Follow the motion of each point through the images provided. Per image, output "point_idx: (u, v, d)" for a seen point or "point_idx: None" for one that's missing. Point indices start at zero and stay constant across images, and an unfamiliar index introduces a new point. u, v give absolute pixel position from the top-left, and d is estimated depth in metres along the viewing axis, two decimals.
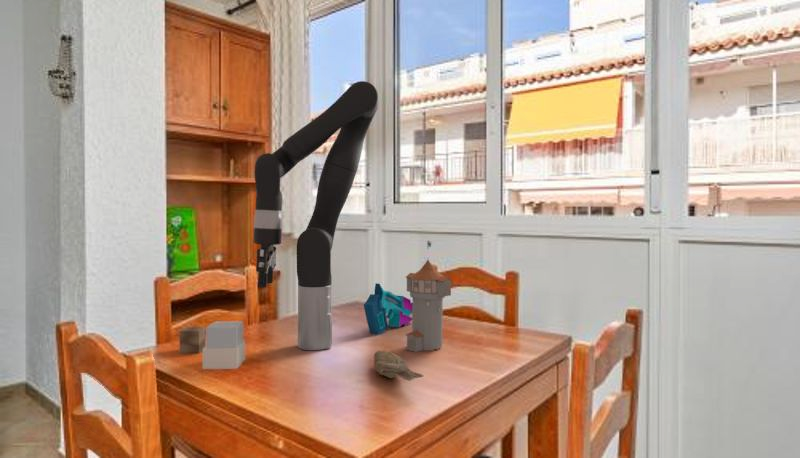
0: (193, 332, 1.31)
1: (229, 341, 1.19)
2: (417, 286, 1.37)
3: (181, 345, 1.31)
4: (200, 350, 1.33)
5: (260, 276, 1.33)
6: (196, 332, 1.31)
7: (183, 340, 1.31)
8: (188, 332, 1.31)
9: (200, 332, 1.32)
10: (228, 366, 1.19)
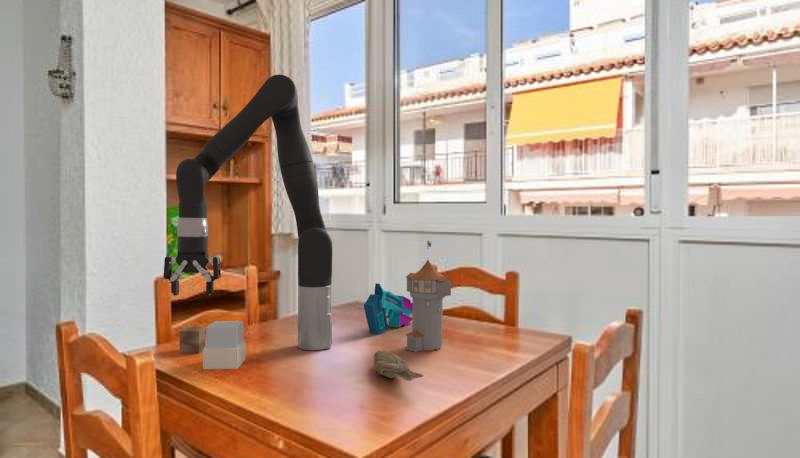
0: (193, 332, 1.31)
1: (229, 341, 1.19)
2: (417, 286, 1.37)
3: (181, 345, 1.31)
4: (200, 350, 1.33)
5: (211, 284, 1.33)
6: (196, 332, 1.31)
7: (183, 340, 1.31)
8: (188, 332, 1.31)
9: (200, 332, 1.32)
10: (228, 366, 1.19)
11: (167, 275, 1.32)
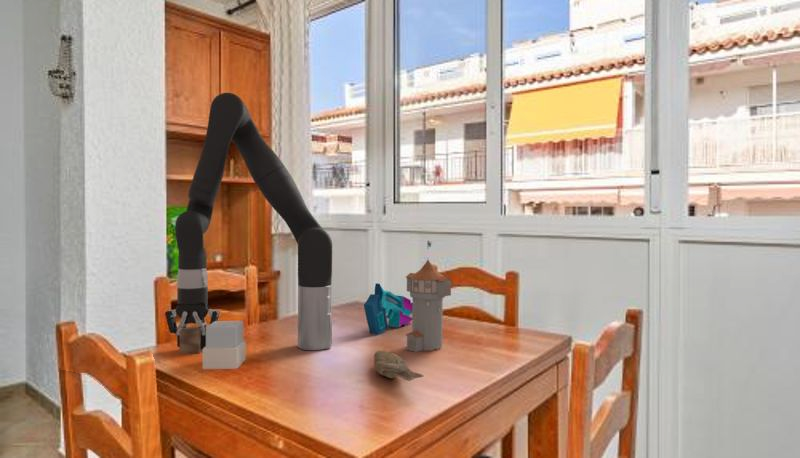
0: (193, 332, 1.31)
1: (228, 341, 1.19)
2: (417, 286, 1.37)
3: (181, 345, 1.31)
4: (200, 350, 1.33)
5: None
6: (196, 332, 1.31)
7: (183, 340, 1.31)
8: (188, 332, 1.31)
9: (200, 332, 1.32)
10: (228, 366, 1.19)
11: (173, 329, 1.32)
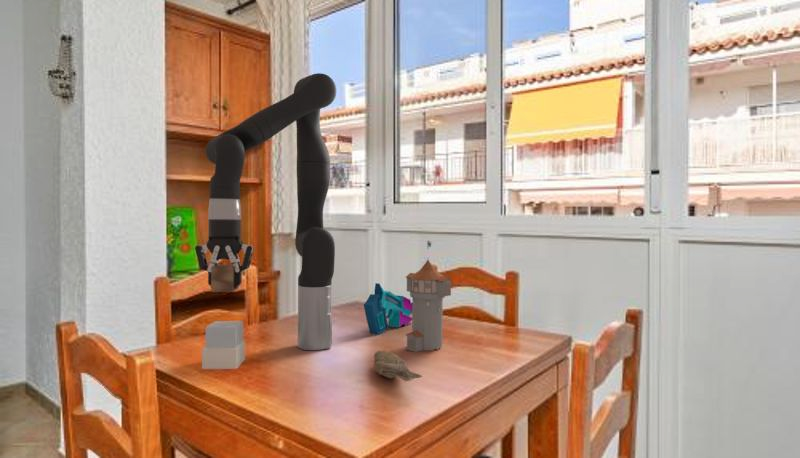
0: (226, 268, 1.19)
1: (228, 341, 1.19)
2: (417, 286, 1.37)
3: (213, 282, 1.19)
4: (233, 288, 1.21)
5: None
6: (229, 268, 1.19)
7: (215, 277, 1.19)
8: (220, 268, 1.19)
9: (233, 268, 1.21)
10: (227, 366, 1.19)
11: (204, 265, 1.21)
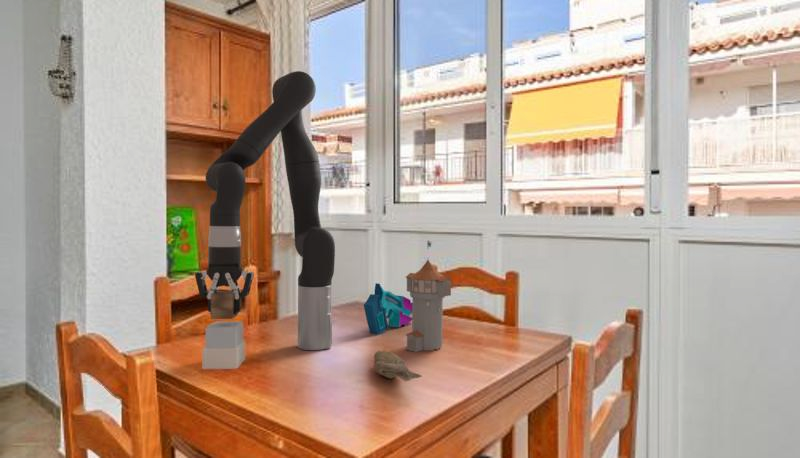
0: (226, 295, 1.20)
1: (228, 341, 1.19)
2: (417, 286, 1.37)
3: (212, 309, 1.20)
4: (233, 315, 1.21)
5: None
6: (229, 295, 1.20)
7: (215, 304, 1.19)
8: (220, 295, 1.20)
9: (233, 295, 1.21)
10: (227, 366, 1.19)
11: (203, 292, 1.21)
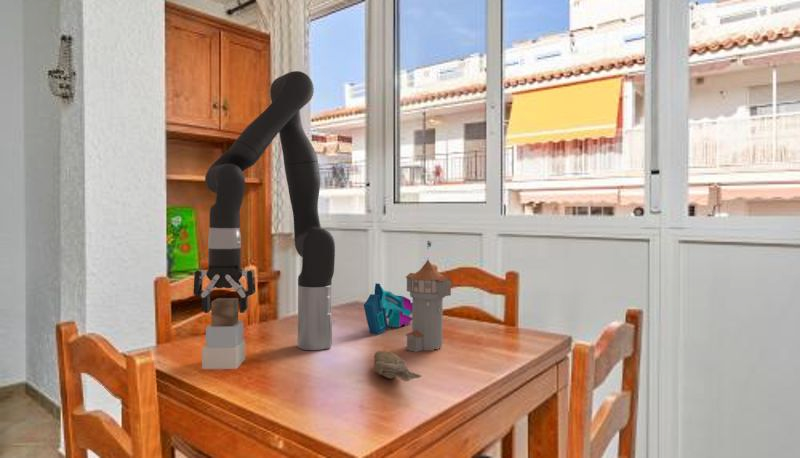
0: (226, 302, 1.20)
1: (228, 341, 1.19)
2: (417, 286, 1.37)
3: (213, 317, 1.20)
4: (233, 323, 1.21)
5: None
6: (229, 303, 1.20)
7: (216, 312, 1.20)
8: (221, 302, 1.20)
9: (233, 303, 1.21)
10: (227, 366, 1.19)
11: (197, 291, 1.21)
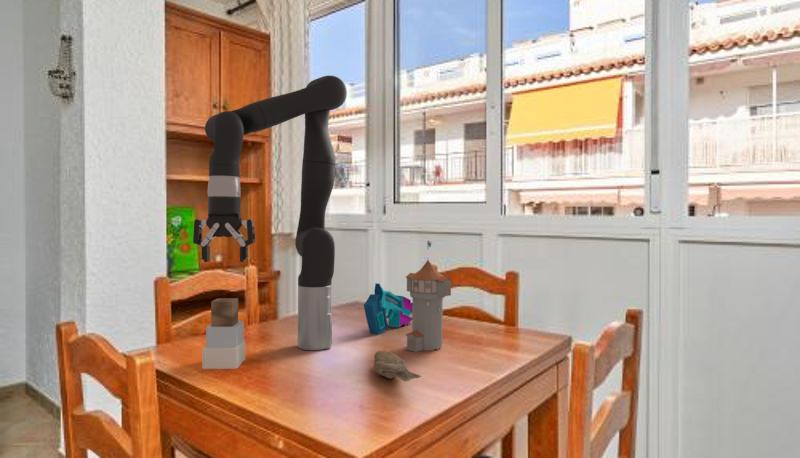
0: (226, 303, 1.19)
1: (229, 341, 1.19)
2: (417, 286, 1.37)
3: (213, 317, 1.19)
4: (233, 323, 1.21)
5: None
6: (229, 303, 1.19)
7: (215, 312, 1.19)
8: (220, 303, 1.19)
9: (233, 303, 1.21)
10: (227, 366, 1.19)
11: (197, 240, 1.20)
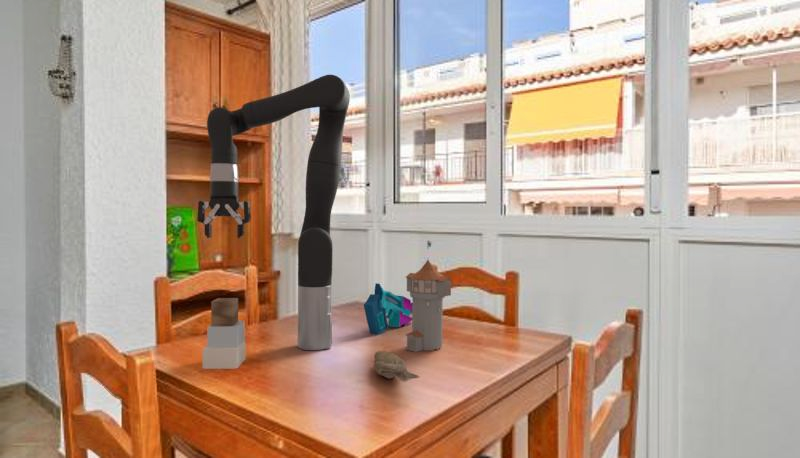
0: (226, 302, 1.20)
1: (229, 341, 1.19)
2: (417, 286, 1.37)
3: (213, 317, 1.20)
4: (233, 323, 1.21)
5: None
6: (229, 303, 1.20)
7: (216, 312, 1.20)
8: (221, 302, 1.20)
9: (233, 303, 1.21)
10: (227, 366, 1.19)
11: (201, 218, 1.40)
